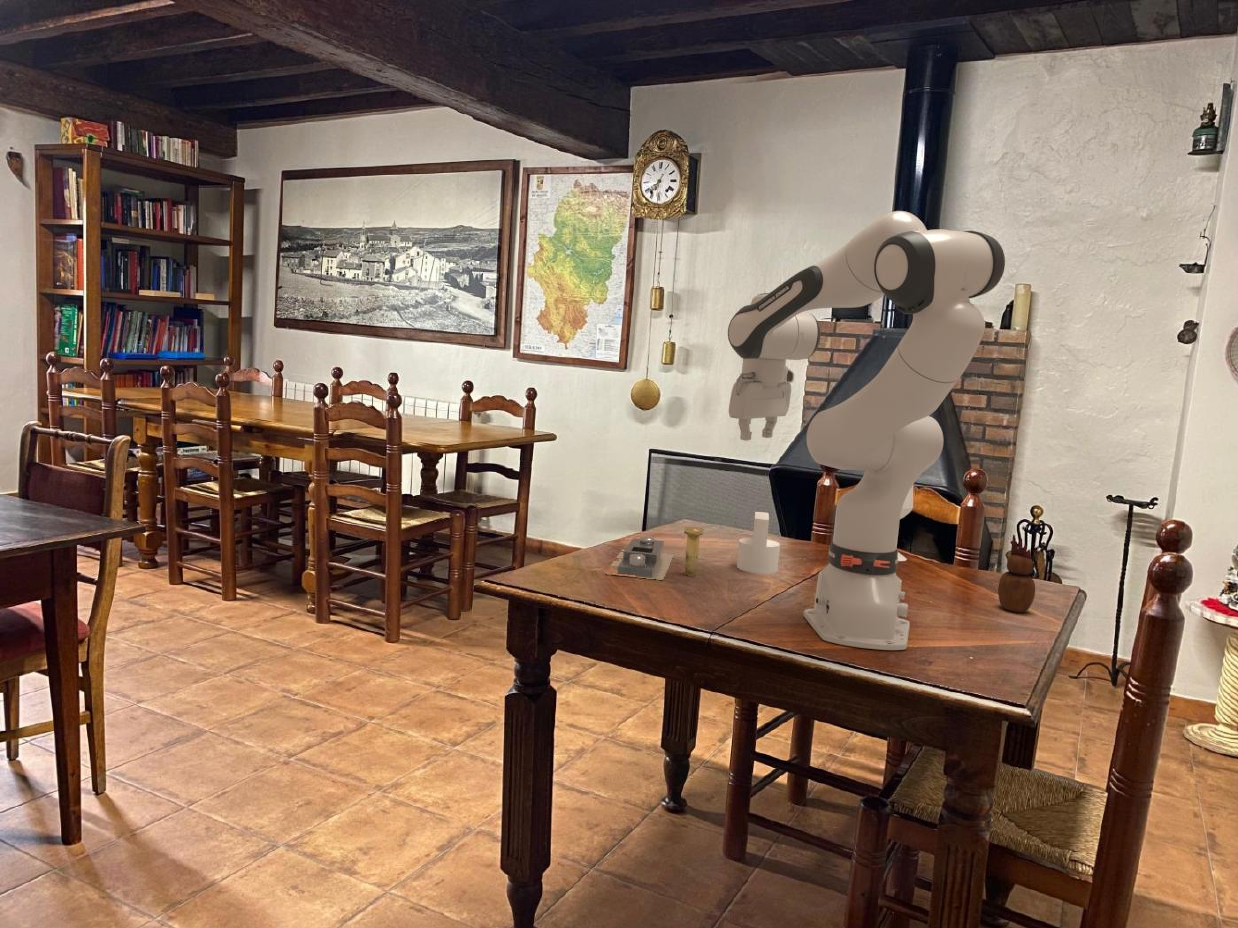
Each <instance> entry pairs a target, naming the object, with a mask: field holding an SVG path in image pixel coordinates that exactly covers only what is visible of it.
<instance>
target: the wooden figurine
mask: <svg viewBox="0 0 1238 928" xmlns="http://www.w3.org/2000/svg"><path fill="white" fill-rule="evenodd" d="M1017 544H1018V545H1017ZM1027 547H1028V546H1027V544H1023V538H1020V539H1019V543H1017V540H1016V534H1013V535H1012V540H1011V547H1010V555H1009V556H1008V558H1007V561H1006V570H1007V571H1005V572H1004V573H1003V574H1002V575H1001V576H1000V578H999V583H998V587H997V591H998V592H997V593H998V600H999V603H1000V606H1001V607H1002V608H1003V609H1005V610H1006V609H1007V611H1008V610H1009V612H1012V611H1013V612H1012V613H1018V612H1020V613H1025V612H1027V611H1029V609H1030V608H1031V606H1032V604H1033V602H1034V598H1035V596H1036V584H1035V581H1034V578H1032V577H1031V576H1030V574H1031V573H1032V571H1033V568H1034V563H1033V562H1034V561H1033V560H1032V559H1033V558H1032V554H1031V549H1028V548H1027Z"/></svg>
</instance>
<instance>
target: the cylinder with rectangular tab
mask: <svg viewBox="0 0 1238 928" xmlns="http://www.w3.org/2000/svg"><path fill="white" fill-rule="evenodd" d="M769 514H770V513H769V512H764V511H755V512H754V522H753V533H752V537H743V538H740V539H739V540H738V548H737V549H738V550H737V560H736V568H737V569H738V568H739V569H738V570H740V571H743V572H745V573H751V574H760V575H767V574H769V575H770V574H776V573H778V571H779V558H780V547H781V544H780V542H778V541H776V540H772V539H768V535H769V525H770V523H769V522H770V517H769V516H770V515H769Z"/></svg>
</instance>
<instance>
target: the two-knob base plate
mask: <svg viewBox="0 0 1238 928" xmlns="http://www.w3.org/2000/svg"><path fill="white" fill-rule="evenodd" d="M664 547H665V541H664V540H656V539H655V537H653V536H644V535H643V536H640V537H639V538H635V537H633V538H632V539H630V542H629V544H628V545H627V546H626V548H625V549H621V550H620V552H619V553H618V554H617V556H616V557H615V559H616V558H623V559H622V560H621V559H619V561H614V560H613V561H612V562H611V565H610V566H618V570H617V572H616V573H614V572H613V573H614V574H627V575H635V576H636V577H642V578H650V579H657V580H656V581H658V580H663V579H664V580H665V578H664V577H666V575H667V573H668V571H667V570H669V567H670V566H671V564H672V562H673V559H674V557H675V556H674V554H670V553H663V550H664ZM621 551H624V553H623V552H621ZM673 556H674V557H673ZM672 558H673V559H672ZM670 563H671V564H670ZM613 573H612V574H613ZM664 580H663V581H664Z"/></svg>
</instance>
